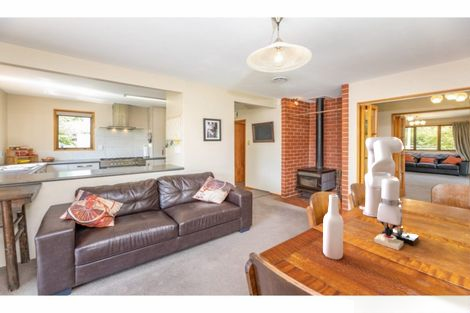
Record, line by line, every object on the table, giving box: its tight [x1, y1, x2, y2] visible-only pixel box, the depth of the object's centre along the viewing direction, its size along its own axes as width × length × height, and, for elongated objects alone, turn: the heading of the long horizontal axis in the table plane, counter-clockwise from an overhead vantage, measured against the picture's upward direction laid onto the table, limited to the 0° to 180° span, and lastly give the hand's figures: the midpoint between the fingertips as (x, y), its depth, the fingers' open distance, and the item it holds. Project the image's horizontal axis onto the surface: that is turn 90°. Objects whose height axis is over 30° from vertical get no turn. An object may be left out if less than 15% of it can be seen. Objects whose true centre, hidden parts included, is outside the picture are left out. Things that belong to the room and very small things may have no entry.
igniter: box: [373, 233, 404, 251], centre depth 110 cm, size 11×8×4 cm
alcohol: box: [322, 193, 345, 260], centre depth 99 cm, size 9×9×30 cm
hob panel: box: [381, 228, 419, 247], centre depth 115 cm, size 14×10×3 cm
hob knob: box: [396, 225, 404, 235], centre depth 115 cm, size 5×1×4 cm, turn 127°
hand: (388, 235), depth 109 cm, fingers closed
